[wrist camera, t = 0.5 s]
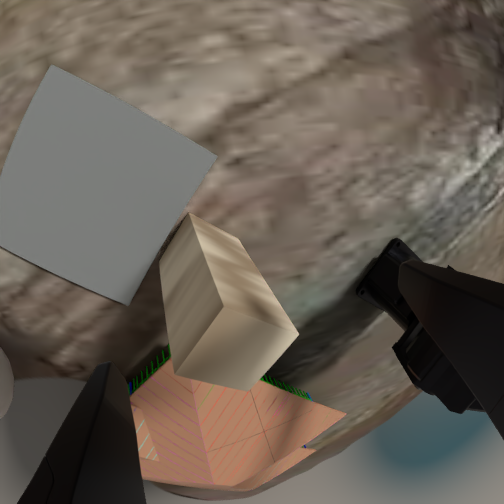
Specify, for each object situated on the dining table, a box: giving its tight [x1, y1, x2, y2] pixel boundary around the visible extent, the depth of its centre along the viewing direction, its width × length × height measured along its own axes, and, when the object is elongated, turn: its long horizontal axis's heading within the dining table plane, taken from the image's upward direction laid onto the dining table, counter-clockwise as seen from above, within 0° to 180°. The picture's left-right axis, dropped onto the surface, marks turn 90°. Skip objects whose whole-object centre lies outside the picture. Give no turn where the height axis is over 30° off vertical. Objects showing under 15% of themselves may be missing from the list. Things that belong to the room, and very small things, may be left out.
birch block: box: [159, 212, 299, 391], centre depth 17 cm, size 4×4×10 cm
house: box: [128, 344, 346, 491], centre depth 29 cm, size 23×33×8 cm
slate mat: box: [0, 65, 218, 306], centre depth 17 cm, size 12×12×1 cm
